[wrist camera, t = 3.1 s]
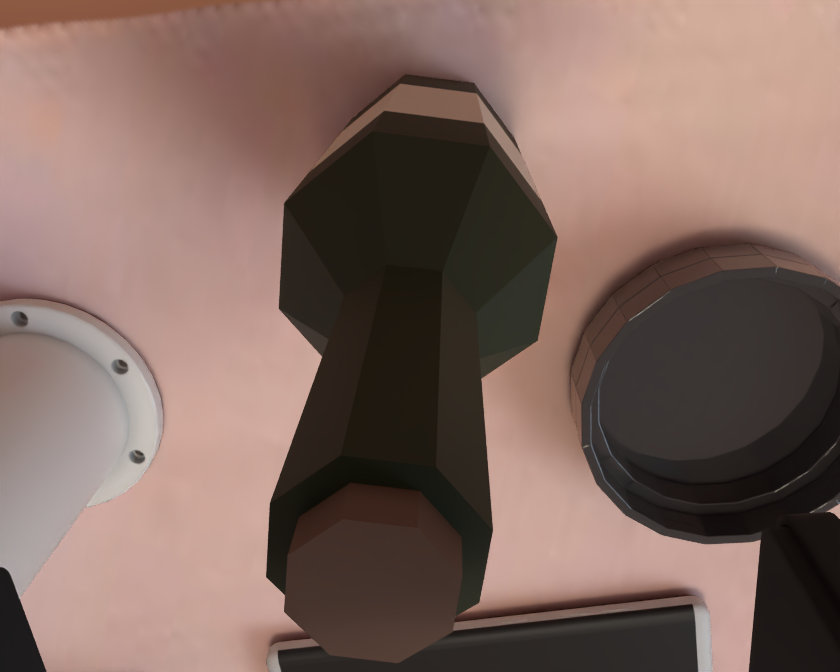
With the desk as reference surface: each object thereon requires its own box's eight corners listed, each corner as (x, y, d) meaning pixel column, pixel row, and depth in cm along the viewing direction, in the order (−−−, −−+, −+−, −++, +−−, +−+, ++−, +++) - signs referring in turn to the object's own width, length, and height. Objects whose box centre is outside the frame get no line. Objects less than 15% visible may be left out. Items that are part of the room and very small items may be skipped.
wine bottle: (394, 35, 36) (209, 168, 8) (550, 128, 37) (827, 503, 10) (313, 194, 39) (-20, 672, 11) (460, 274, 40) (478, 875, 13)
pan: (571, 503, 46) (582, 551, 42) (567, 253, 40) (579, 280, 36) (841, 489, 45) (878, 536, 41) (877, 230, 39) (925, 256, 35)
